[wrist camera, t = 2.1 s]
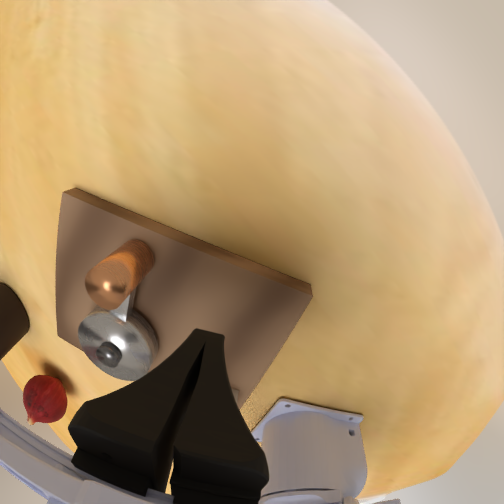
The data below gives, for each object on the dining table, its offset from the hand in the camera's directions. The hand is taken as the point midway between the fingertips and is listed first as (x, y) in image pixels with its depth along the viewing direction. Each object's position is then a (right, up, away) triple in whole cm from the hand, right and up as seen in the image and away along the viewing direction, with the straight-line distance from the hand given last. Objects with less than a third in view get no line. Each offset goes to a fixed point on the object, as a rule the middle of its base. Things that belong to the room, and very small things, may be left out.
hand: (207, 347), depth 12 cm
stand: (-5, 0, +8) cm, 10 cm away
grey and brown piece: (-7, 0, +6) cm, 9 cm away
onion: (-22, -11, +14) cm, 29 cm away
